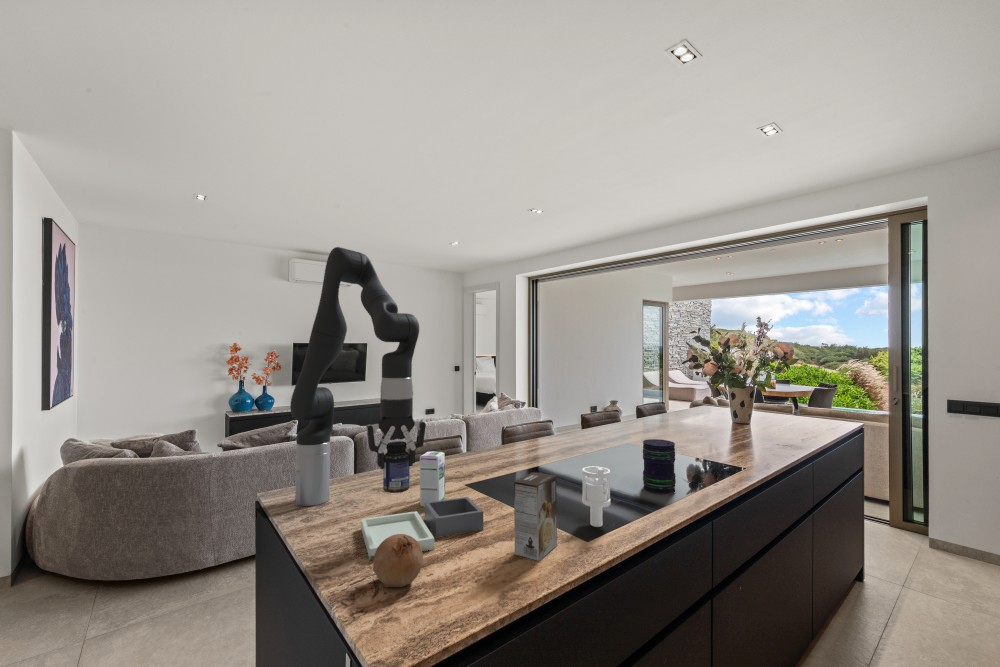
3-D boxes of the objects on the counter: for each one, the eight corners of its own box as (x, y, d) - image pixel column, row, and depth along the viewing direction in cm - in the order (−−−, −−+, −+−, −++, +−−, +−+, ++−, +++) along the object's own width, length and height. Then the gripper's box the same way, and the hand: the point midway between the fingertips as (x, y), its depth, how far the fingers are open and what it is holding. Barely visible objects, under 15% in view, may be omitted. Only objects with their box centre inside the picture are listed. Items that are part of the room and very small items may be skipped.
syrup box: (439, 508, 128) (439, 456, 128) (419, 506, 129) (419, 455, 129) (445, 501, 133) (445, 451, 134) (426, 499, 134) (426, 450, 135)
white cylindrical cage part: (588, 530, 112) (587, 469, 112) (578, 519, 119) (578, 462, 119) (615, 529, 113) (614, 468, 113) (604, 518, 120) (603, 461, 120)
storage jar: (638, 490, 143) (638, 443, 143) (648, 482, 151) (647, 438, 152) (671, 496, 137) (670, 447, 138) (679, 488, 145) (678, 441, 146)
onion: (411, 605, 85) (423, 566, 82) (362, 593, 84) (372, 553, 81) (421, 564, 94) (432, 527, 91) (376, 553, 93) (386, 515, 90)
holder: (436, 537, 108) (436, 518, 108) (424, 519, 119) (424, 502, 119) (483, 529, 112) (483, 511, 113) (467, 513, 124) (467, 496, 124)
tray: (369, 561, 96) (370, 549, 96) (361, 529, 113) (361, 519, 113) (434, 549, 101) (434, 538, 102) (416, 520, 118) (416, 511, 118)
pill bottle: (414, 487, 109) (414, 441, 109) (398, 495, 103) (399, 446, 104) (393, 484, 112) (394, 439, 112) (377, 491, 106) (377, 444, 106)
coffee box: (533, 539, 107) (532, 471, 107) (557, 545, 104) (557, 475, 104) (513, 554, 99) (513, 480, 100) (539, 562, 96) (539, 485, 96)
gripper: (422, 393, 114) (422, 460, 114) (363, 396, 109) (363, 466, 108) (430, 396, 107) (429, 467, 107) (367, 399, 102) (366, 474, 101)
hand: (396, 466), depth 108 cm, fingers closed on pill bottle, 6 cm apart
